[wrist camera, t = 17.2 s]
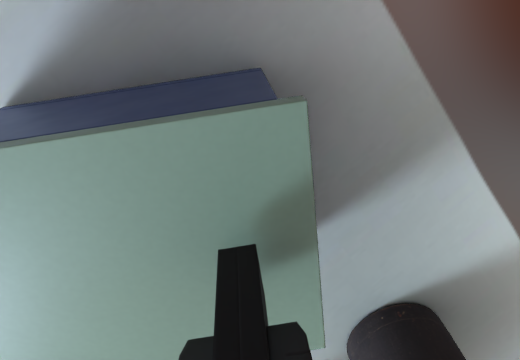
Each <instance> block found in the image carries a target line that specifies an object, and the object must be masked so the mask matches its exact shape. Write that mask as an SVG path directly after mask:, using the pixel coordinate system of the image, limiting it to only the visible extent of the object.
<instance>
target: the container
mask: <svg viewBox="0 0 520 360" xmlns="http://www.w3.org/2000/svg"><path fill="white" fill-rule="evenodd" d="M347 352H348V356H349V359H350V360H466V359H465V357H464V356H463V354H462V352H461V351H460V349H459V348H458V346H457V344H456V343H455V341H454V340H453V338H452V336H451V335H450V333H449V332H448V331H447V329H446V327H445V326H444V324H443V323H442V322H441V320H440V319H439V317H438V316H437V315H436V314H435V313H434V312H433V311H432V310H430V309H429V308H427V307H424V306H421V305H417V304H398V305H393V306H389V307H386V308H383V309H381V310H378V311H376V312H374V313H372V314H371V315H369V316H368V317H366V318H365V319H363V320H362V321H361V322H360V323H359V324H358V325H357V326H356V327H355V328H354V330H353V331H352V333H351V335H350V337H349V339H348V343H347Z"/></svg>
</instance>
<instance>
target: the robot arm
mask: <svg viewBox="0 0 520 360" xmlns="http://www.w3.org/2000/svg"><path fill="white" fill-rule="evenodd" d="M179 360H312V356H311V353H310V348H309V344H308V339H307V335H306V333H305V332H304V330H303V329H302V328H301V326H300V325H299V324H298V323H297V321H296V322H290V323H283V324H277V325H271V326H268V318H267V310H266V301H265V294H264V288H263V282H262V277H261V271H260V265H259V259H258V254H257V248H256V244H251V245H245V246H238V247H232V248H226V249H219V250H218V260H217V280H216V299H215V319H214V336H209V337H203V338H196V339H190V340H188V341H187V343H186V344H185V346H184V348H183V350H182V352H181V353H180V355H179Z"/></svg>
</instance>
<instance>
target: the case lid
mask: <svg viewBox="0 0 520 360" xmlns="http://www.w3.org/2000/svg"><path fill="white" fill-rule="evenodd" d="M251 244H256V248H257V254H258V259H259V265H260V271H261V277H262V282H263V288H264V294H265V301H266V310H267V318H268V326H271V325H277V324H283V323H290V322H296V321H297V323H298V324H299V325H300V326H301V328H302V329H303V330H304V332H305V333H306V335H307V339H308V344H309V348H310V350H315V349H321V348H325V335H324V321H323V308H322V294H321V281H320V267H319V254H318V240H317V227H316V213H315V199H314V186H313V172H312V159H311V145H310V132H309V118H308V105H307V100H306V99H305V98H304V97H303V96H295V97H289V98H282V99H276V100H270V101H263V102H257V103H250V104H244V105H237V106H231V107H225V108H218V109H212V110H205V111H199V112H192V113H186V114H179V115H173V116H167V117H160V118H154V119H147V120H141V121H134V122H128V123H122V124H115V125H109V126H102V127H96V128H89V129H83V130H77V131H70V132H64V133H57V134H51V135H44V136H38V137H32V138H25V139H19V140H12V141H6V142H0V360H179V355H180V353H181V352H182V350H183V348H184V346H185V344H186V343H187V341H188V340H190V339H196V338H203V337H209V336H214V319H215V299H216V280H217V260H218V250H219V249H226V248H232V247H238V246H245V245H251Z"/></svg>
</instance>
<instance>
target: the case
mask: <svg viewBox="0 0 520 360" xmlns="http://www.w3.org/2000/svg"><path fill="white" fill-rule="evenodd" d="M276 99H277V97H276V95H275V93H274V92H273V90H272V88H271V86H270V84H269V82H268V81H267V79H266V77H265V75H264V73H263V71H262V69H261V68H255V69H248V70H242V71H235V72H229V73H222V74H216V75H209V76H203V77H196V78H190V79H183V80H177V81H170V82H164V83H157V84H151V85H144V86H138V87H131V88H125V89H118V90H112V91H105V92H99V93H92V94H86V95H79V96H73V97H66V98H60V99H53V100H47V101H40V102H34V103H27V104H21V105H14V106H8V107H3V108H0V142H6V141H12V140H19V139H25V138H32V137H38V136H44V135H51V134H57V133H64V132H70V131H77V130H83V129H89V128H96V127H102V126H109V125H115V124H122V123H128V122H134V121H141V120H147V119H154V118H160V117H167V116H173V115H179V114H186V113H192V112H199V111H205V110H212V109H218V108H225V107H231V106H237V105H244V104H250V103H257V102H263V101H270V100H276Z"/></svg>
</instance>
